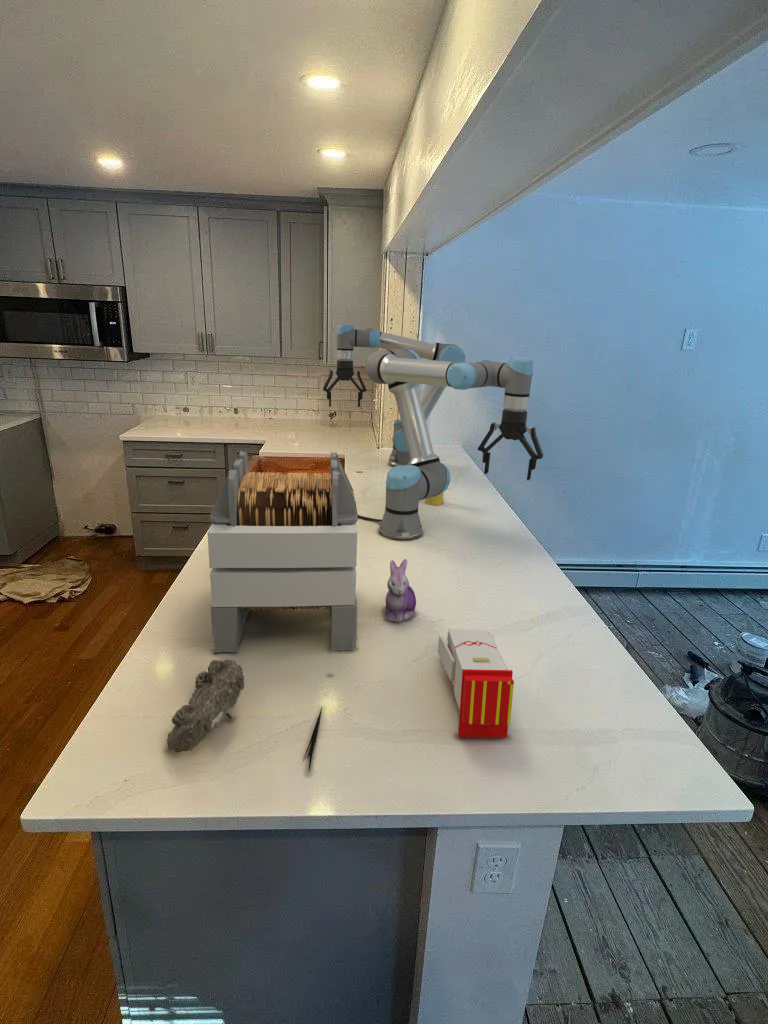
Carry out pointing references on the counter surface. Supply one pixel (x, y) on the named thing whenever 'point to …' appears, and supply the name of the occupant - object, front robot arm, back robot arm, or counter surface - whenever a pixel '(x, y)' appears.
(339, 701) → the counter surface
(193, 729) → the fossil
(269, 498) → the grey record crate
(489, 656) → the toy
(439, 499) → the tin
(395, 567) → the figurine
